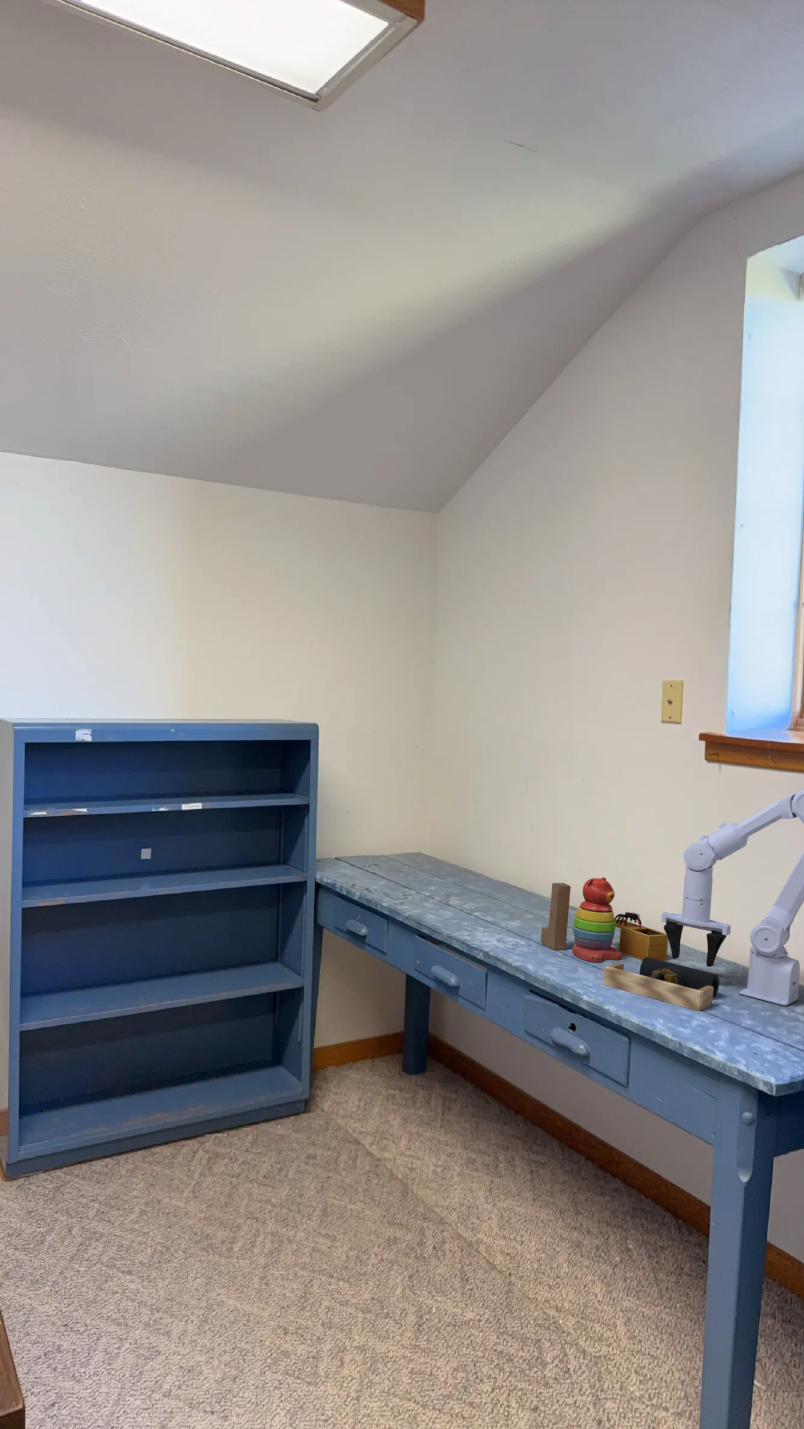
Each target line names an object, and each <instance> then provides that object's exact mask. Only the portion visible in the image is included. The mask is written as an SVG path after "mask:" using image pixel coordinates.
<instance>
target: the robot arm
mask: <svg viewBox="0 0 804 1429" xmlns="http://www.w3.org/2000/svg"><path fill="white" fill-rule="evenodd" d="M796 818H798V819H799V820H800V821H801V822H802V823H803V824H804V789H801V790H799V791H798V792H796V793H794V794H790V795H788V796H785V797H783V798H781V799H778V800H776V801H774V802H773V803H771V804H770V805H768V806H766V807H765V808H763V809H762V810H760V811H758V812H757V813H755V814H754V815H752V816H750V817H749V818H747V819H746V820H744V821H743V822H741V823H736V822H732V821H731V822H728V823H726V822H723V823H720V824H719V825H718V827H719V828H718V829H716V830H715V831H713V832H711V833H709V834H708V835H702V836H699V840H700V841H698V842H693V843H690V844H689V845H688V846H687V847H686V848H685V850H684V852H683V861H684V863H685V875H684V882H683V895H682V896H683V897H682V907H681V908H682V909H681V910H682V911H681V913H674V912H666V911H665V912H662V913H661V920H660V921H661V923H665V925H663V930H664V933H665V934H667V937H668V944H669V946H670V952H671V958H672V959H674V960H675V959H676V960H677V959H679V958H680V955H681V954H680V953H681V940H682V934H683V930H684V927H688V928H693V929H698V930H703V931H707V932H708V933H706V944H707V952H706V953H707V954H706V967H708V968H711V967H714V965H715V961H716V958H717V954H718V952H719V950H720V948H721V946H722V945H723V943H724V941H725V940H726V938H727V936H728V935H731V927H732V926H731V924H728V923H723V922H719V921H716V920H713V919H711V908H712V894H713V871H714V870H713V869H714V867H713V866H714V865H716V863H717V861H722V860H723V859H725V858H727V857H729V856H730V855H732V854H734V853H735V852H737V851H739V850H741V849H743V848H744V847H746V846H747V844H748V839H749V837H750V836H752V835H754V834H756V833H758V832H760V831H762V830H763V829H766V828H767V827H769V826H771V825H772V824H774V823H776V822H778V821H780V820H786V819H787V820H789V819H790V820H791V819H796ZM803 904H804V851H803V852H802V854H801V856H800V858H799V859H798V861H797V863H796V865H795V866H794V868H793V869H792V871H791V872H790V875H789V877H788V879H787V880H786V882H785V884H784V885H783V887H782V889H781V891H780V892H779V895H778V896H777V898H776V900H775V902H774V903H773V905H772V907H771V908H770V910H769V911H768V913H767V914H766V915H765V918H764V919H762V921H760V923H759V924H757V925H755V927H753V929H752V930H751V932H750V937H749V938H750V943H751V946H750V948H749V949H750V950H749V961H748V974H747V985H746V988H744V989H742V990H740V991H739V994H740V995H743V996H747V997H751V998H755V999H759V1000H761V1001H762V1000H763V1001H767V1002H769V1003H774V1004H777V1005H781V1006H786V1007H787V1006H789V1005H791V1004H792V1003H794V1002H795V1001H797V1000H799V985H800V974H801V972H800V971H801V968H800V966H801V964H800V961H799V960H798V959H795V958H792V957H789V952H788V951H787V949H786V948H785V945H786V944H787V943H788V941H789V940H790V936H791V933H790V932H791V930H790V929H791V926H792V924H793V923H794V920H795V918H796V915H797V914H798V912H799V910H800V908H802V905H803Z"/></svg>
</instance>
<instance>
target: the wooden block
mask: <svg viewBox="0 0 804 1429" xmlns="http://www.w3.org/2000/svg"><path fill="white" fill-rule="evenodd" d="M571 888H572V887H571V885H570V884H567V883H565V882H552V884H551V894H550V895H551V896H550V907H549V918H548V921H549V922H548V925H547V927H546V926H545V927H543V926H542V927H541V935H540V943H541V944H543V945H544V946H546V947H548V948H549V949H551V950H553V951H560V950H561V951H563V950H564V951H565V950H566V949H567V948H566V947H567V937H568V936H567V935H568V924H569V922H568V921H569V911H570V910H569V909H570V898H571Z"/></svg>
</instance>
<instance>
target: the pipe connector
mask: <svg viewBox="0 0 804 1429" xmlns="http://www.w3.org/2000/svg"><path fill="white" fill-rule="evenodd" d="M639 975H643V976H647V977H651V978H654V979H658V980H662V981H666V982H669V983H673V984H677V985H681V986H685V987H688V988H692V989H696V990H698V989H701V988H703V987H705V986H707V985H708V986H712V987H714V988H713V999H714V998H715V997H716V996H717V994H718V991H719V987H720V977H719V975H718V974H717V973H714V972H709V971H705V970H701V969H697V968H694V967H690V966H685V965H681V964H677V963H673V962H669V961H662V960H658V959H653V958H649V957H645V958H644V959H643V961H642V960H641V963H640V966H639Z"/></svg>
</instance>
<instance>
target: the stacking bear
mask: <svg viewBox="0 0 804 1429" xmlns="http://www.w3.org/2000/svg"><path fill="white" fill-rule="evenodd" d="M615 895H616V894H615V891H614V888H613V887H612V885H611V883H610V882H609V881H607V878H606V877H604V876H603V877H601V878H597V877H593V878H590V879H587V881H585V882H584V884H583V887H582V896H583V898H584V901H582V902H580V905H579V906H578V907H577V909H576V913H575V916H574V919H573V925H572V926H573V930H572V931H573V936H574V942H575V943H574V945H573V947H572V949H571V953H572V954H573V955H574V956H575V957H577V958H579V959H581V960H584V961H586V962H590V963H602V962H603V961H606V960H607V961H608V960H609V961H610V960H613V961H618V960H619V961H620V960H622V958H623V953H621V952H620V951H619V949H616V948H614V947H612V944H613V940H614V938H615V934H616V933H615V932H616V931H615V930H616V927H615V921H614V918H615V914H614V911H613V906H612V905H611V903H612V901H613V900H614V899H615Z"/></svg>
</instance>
